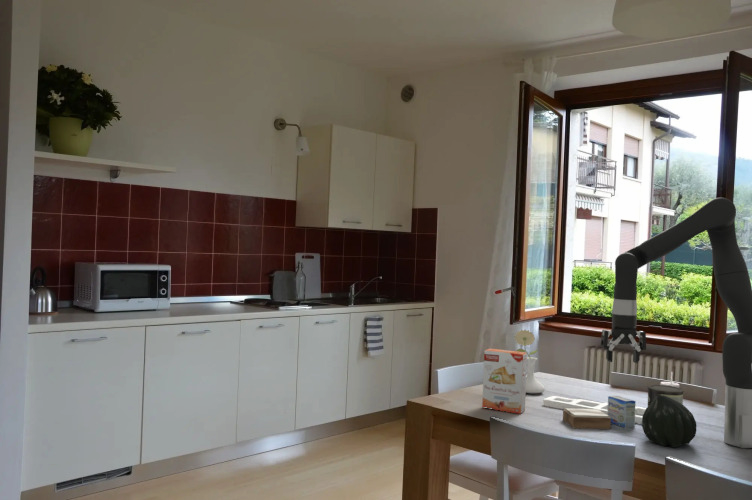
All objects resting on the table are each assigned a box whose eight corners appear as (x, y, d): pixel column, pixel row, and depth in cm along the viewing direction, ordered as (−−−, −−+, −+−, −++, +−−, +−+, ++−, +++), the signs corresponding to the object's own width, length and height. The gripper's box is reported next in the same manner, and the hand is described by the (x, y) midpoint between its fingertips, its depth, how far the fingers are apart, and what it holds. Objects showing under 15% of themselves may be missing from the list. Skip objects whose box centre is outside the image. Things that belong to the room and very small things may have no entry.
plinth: (610, 428, 200) (610, 416, 200) (573, 428, 200) (574, 415, 200) (598, 420, 210) (598, 408, 210) (562, 419, 210) (563, 407, 210)
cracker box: (481, 408, 221) (483, 349, 221) (486, 405, 227) (488, 347, 227) (521, 414, 215) (522, 353, 215) (525, 411, 220) (527, 351, 220)
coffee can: (642, 432, 197) (643, 387, 197) (651, 426, 205) (653, 383, 205) (677, 439, 191) (678, 393, 191) (686, 432, 199) (687, 388, 199)
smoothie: (680, 412, 226) (682, 373, 226) (661, 411, 227) (663, 372, 227) (676, 408, 232) (677, 370, 232) (657, 407, 234) (658, 369, 234)
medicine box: (606, 422, 209) (607, 395, 209) (616, 420, 211) (617, 395, 211) (625, 428, 202) (625, 401, 202) (635, 427, 204) (636, 400, 204)
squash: (716, 431, 181) (684, 385, 189) (684, 439, 173) (652, 391, 182) (682, 453, 190) (653, 408, 199) (650, 461, 183) (621, 415, 191)
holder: (542, 406, 230) (542, 399, 230) (563, 399, 244) (563, 392, 244) (673, 431, 201) (673, 423, 201) (688, 422, 215) (688, 414, 215)
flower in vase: (548, 392, 254) (550, 330, 254) (539, 397, 244) (541, 332, 244) (517, 387, 261) (519, 327, 261) (507, 392, 251) (509, 329, 251)
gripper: (607, 313, 203) (606, 363, 203) (651, 315, 204) (649, 364, 204) (598, 311, 211) (597, 359, 211) (640, 312, 211) (638, 360, 211)
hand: (622, 362), depth 207 cm, fingers open, 8 cm apart
